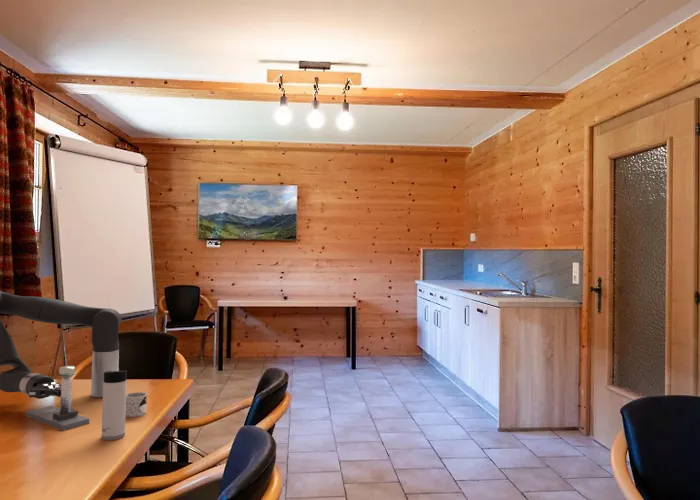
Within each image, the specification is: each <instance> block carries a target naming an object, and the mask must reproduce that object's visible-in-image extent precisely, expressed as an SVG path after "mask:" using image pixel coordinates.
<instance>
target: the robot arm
mask: <svg viewBox="0 0 700 500" xmlns="http://www.w3.org/2000/svg"><path fill="white" fill-rule="evenodd" d="M0 314H5V315H12V316H16V317H17V316H18V317H21V318H22V319H23V318H24V319H27V320H31V321H35V322H40V323H48V324H53V325H80V326H81V325H82V326H87V327H91V346H92V359H91V361H92V362H91V363H92V364H91V390H90V393H91V394H90V395H91V397H94V398H103V384H104V383H103V382H104V372H108V371H112V372H114V371H119V370H120V368H119V363H120V361H119V359H120V341H119V327H120V325H121V323H122V315H121V313H120V312H118V311H117V310H116V309H113V308H104V307H94V306H93V307H92V306H91V307H90V306H86V305H82V304H76V303H74V302H70V301H66V300H60V299H56V298H50V297H44V296H31V295H30V296H29V295H28V296H24V295H23V296H22V295H17V294H16V295H15V294H12V293H8V292H4V291H1V290H0ZM1 366H11V367H13V368H11V369H8V370H6V371H3V372H1V373H0V391H2V392H4V393H22V394H24V395H27V396H28V397H29V398H35V399H38V400H39V399H40V400H42V399H46V398H49V397H58V398H61V382H56V381H55V379H54V378H52V377H51V376H49V375H45V374H42V373H37V372H36V373H35V372H32V371H31V369H30V367H29V366H28V365H27V364H26V363H25V362H24V361H23V359H22V358H21V357H20V354H19V353H18V351H17V348H16V346H15V343H14V340H13V339H12V337H11V335H10V333H9V331H8V329H6V326H5V325H4V324H3V321H2V320H1V318H0V367H1Z"/></svg>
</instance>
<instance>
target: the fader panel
mask: <svg viewBox="0 0 700 500" xmlns="http://www.w3.org/2000/svg"><path fill="white" fill-rule="evenodd" d="M57 412H60V408H59V407H56V406H53V405H48V406H43V407H39V408H35V409H29V410H26V411H25V415H24V416H25V417H27V418H30V419H33V420H36V421H37V422H41V423H43V424H46V425H48V426H50V427H53V428H55V429H58V430H61V431H67V430H70V429H74V428H77V427H81V426H85V425H88V424H90V418H89V417H86V416H83V415H80V414H78V416H74V417H70V418H67V419H63V420H59V421H58V420H55V419H53V413H57Z"/></svg>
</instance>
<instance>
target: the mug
mask: <svg viewBox="0 0 700 500" xmlns="http://www.w3.org/2000/svg"><path fill="white" fill-rule="evenodd" d="M147 395H148V394H147V392H143V391H137V392H129V393H126V415H125V418H139V417H142V416H143V417H144V416H145V415H146V414H147Z"/></svg>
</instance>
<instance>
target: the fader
mask: <svg viewBox="0 0 700 500" xmlns="http://www.w3.org/2000/svg"><path fill="white" fill-rule="evenodd" d="M75 375H76V366H75V365H65V366H60V367H59V368H58V376H59V377H61V381H60V384H61V397H60V405H59V407H60V412H57V413H53V419H55V420H58V421H59V420H63V419H67V418H70V417H74V416H78V415H79V410H78V409H74V408H72V394H73V393H72V392H73V390H72V389H73V376H75Z"/></svg>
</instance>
